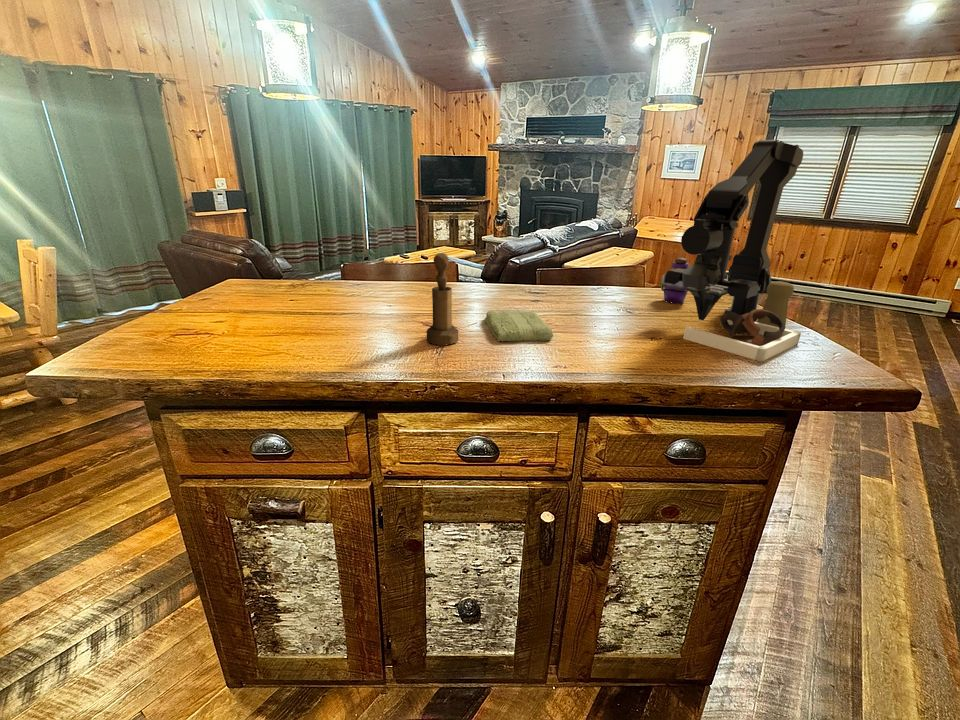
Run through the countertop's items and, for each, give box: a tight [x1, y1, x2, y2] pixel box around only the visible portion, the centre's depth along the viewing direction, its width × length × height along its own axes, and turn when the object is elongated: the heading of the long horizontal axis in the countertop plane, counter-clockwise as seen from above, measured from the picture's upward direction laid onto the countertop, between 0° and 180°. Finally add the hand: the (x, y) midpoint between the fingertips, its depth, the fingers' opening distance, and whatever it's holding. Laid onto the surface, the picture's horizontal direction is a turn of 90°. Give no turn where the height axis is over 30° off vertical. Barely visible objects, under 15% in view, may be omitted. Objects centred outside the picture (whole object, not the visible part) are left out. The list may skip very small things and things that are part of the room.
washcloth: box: [484, 310, 554, 343], centre depth 105 cm, size 13×18×3 cm
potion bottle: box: [660, 257, 690, 305], centre depth 129 cm, size 9×9×12 cm
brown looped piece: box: [719, 308, 786, 346], centre depth 99 cm, size 12×10×8 cm
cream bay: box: [683, 314, 802, 363], centre depth 100 cm, size 17×16×2 cm
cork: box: [756, 280, 795, 327], centre depth 107 cm, size 6×6×11 cm
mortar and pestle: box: [426, 252, 459, 346], centre depth 95 cm, size 7×6×18 cm
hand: (701, 319), depth 106 cm, fingers closed
